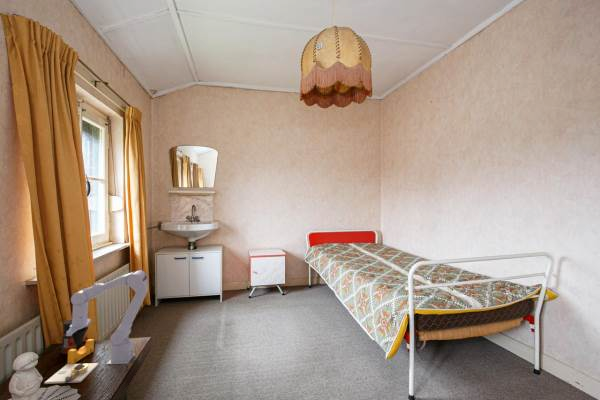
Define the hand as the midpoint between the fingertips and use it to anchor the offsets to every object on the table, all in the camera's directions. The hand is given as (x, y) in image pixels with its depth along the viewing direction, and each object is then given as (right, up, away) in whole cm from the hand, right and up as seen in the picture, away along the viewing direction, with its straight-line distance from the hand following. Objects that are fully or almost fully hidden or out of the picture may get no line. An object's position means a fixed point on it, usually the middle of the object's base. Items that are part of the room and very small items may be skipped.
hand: (78, 344), depth 129 cm
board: (+4, -9, -8) cm, 13 cm away
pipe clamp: (-4, -10, +5) cm, 12 cm away
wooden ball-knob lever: (+7, -8, -10) cm, 15 cm away
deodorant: (-14, -10, +11) cm, 20 cm away
